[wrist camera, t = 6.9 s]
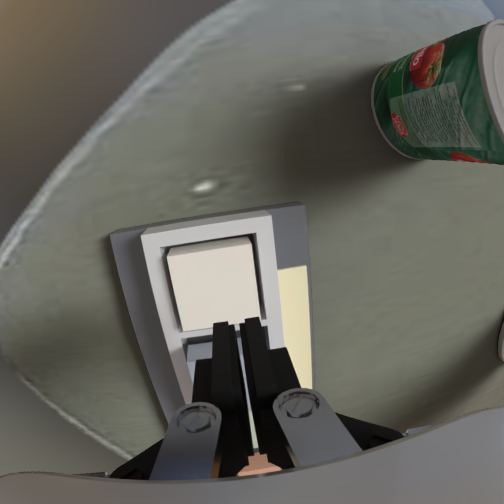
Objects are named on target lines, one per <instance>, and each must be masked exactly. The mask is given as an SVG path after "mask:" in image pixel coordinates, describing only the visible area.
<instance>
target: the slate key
mask: <svg viewBox="0 0 504 504" xmlns="http://www.w3.org/2000/svg"><path fill="white" fill-rule="evenodd" d="M237 342H238V348H239V354H240V359H241V365H242V371H243V376H244V382H245V388H246V396H247V403H248V411H251V405H250V400H249V394H248V388H247V381H246V374H245V366H244V359H243V351H242V343H241V338H237ZM206 358H212V342H208V343H201V344H193V345H188V354H187V365H188V368H189V372H190V375H191V379H192V382H194V372H195V363H196V360H198V359H206Z"/></svg>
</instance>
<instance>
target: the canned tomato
mask: <svg viewBox="0 0 504 504" xmlns="http://www.w3.org/2000/svg"><path fill="white" fill-rule="evenodd" d="M371 108H372V112H373V117H374V120H375V122H376V125H377V127H378V129H379V131H380V133H381V134H382V136H383V137H384V139H385V140H386V141H387V143H388V144H389V145H390V146H391V147H392V148H393V149H394V150H396V151H397V152H398V153H400V154H402V155H403V156H406V157H408V158H411V159H416V160H424V159H430V160H447V161H463V162H467V161H468V162H479V163H489V164H499V165H504V20H500V19H495V20H492V21H490V22H488V23H487V24H484V25H481V26H478V27H474V28H472V29H469V30H467V31H463V32H461V33H459V34H456V35H453V36H451V37H449V38H446V39H444V40H441V41H438V42H436V43H434V44H431V45H429V46H427V47H424V48H422V49H420V50H417V51H415V52H413V53H411V54H409V55H407V56H404V57H402V58H400V59H398V60H397V61H392V62H390V63H388V64H386V65H385V66H384V67H383V68H382V69H381V70H380V71H379V72H378V74H377V75H376V77H375V79H374V82H373V85H372V90H371Z"/></svg>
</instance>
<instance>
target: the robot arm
mask: <svg viewBox="0 0 504 504" xmlns="http://www.w3.org/2000/svg"><path fill="white" fill-rule="evenodd" d="M244 320H245V323H239V327H240V335H241V343H242V351H243V359H244V366H245V374H246V381H247V388H248V394H249V400H250V405H251V411H252V416H253V422H254V427H255V432H256V438H257V443H258V448H259V453H260V455H263V454H267V459H268V463H272V464H274V465H276V466H278V467H280V469H281V470H280V471H274V472H267V473H260V474H253V475H245V476H239V474H238V473H239V472H240V471H241V470H242V469H243V468H244V467H245V466H249V459H248V457H249V456H254V448H253V441H252V433H251V426H250V419H249V411H248V403H247V396H246V388H245V382H244V376H243V371H242V365H241V359H240V354H239V348H238V342H237V336H236V330H235V325H234V324H231V325H229V323H228V321H225V322H217V323H213V338H212V358H206V359H198V360H196V363H195V372H194V382H193V393H192V403H190V404H187V405H184V406H183V407H181V408H179V409H178V410H177V411H176V412H175V413H174V414H173V416H172V418H171V420H170V423H169V426H168V428H167V431H166V434H165V437H164V438H163V439H162V440H160V441H159V442H157V443H156V444H154V445H153V446H151V447H150V448H148V449H146V450H145V451H143V452H142V453H140V454H139V455H137V456H136V457H134V458H133V459H131V460H129V461H128V462H126V463H125V464H123V465H121V466H120V467H118V468H117V469H116V470H115V471H113V473H112V474H110V475H107V473H106V472H96V473H84V474H63V473H55V472H18V473H10V474H7V475H3V476H0V504H504V406H498V407H492V408H486V409H482V410H478V411H474V412H471V413H467V414H464V415H462V416H459V417H456V418H453V419H450V420H448V421H444V422H440V423H436V424H431V425H426V426H421V427H416V428H411V429H407V432H406V433H402V434H401V433H400V432H398V431H396V430H393V429H390V428H386V427H382V426H379V425H375V424H371V423H368V422H364V421H361V420H358V419H354V418H351V417H348V416H344V415H341V414H338V413H335V412H334V411H333V410H332V408H331V407H330V405H329V404H328V403H327V401H326V400H325V398H324V397H323V396H322V395H321V394H320V393H319V392H317V391H315V390H313V389H308V388H301V385H300V383H299V380H298V377H297V374H296V372H295V369H294V366H293V363H292V361H291V358H290V355H289V352H288V350H287V347H282V348H276V349H270V350H268V349H267V345H266V341H265V337H264V333H263V330H262V326H261V322H260V318H259V317H252V318H246V319H244ZM498 354H499V357H500V359H501V360H502V361H503V362H504V322H503V324H502V328H501V331H500V335H499V341H498Z"/></svg>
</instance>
